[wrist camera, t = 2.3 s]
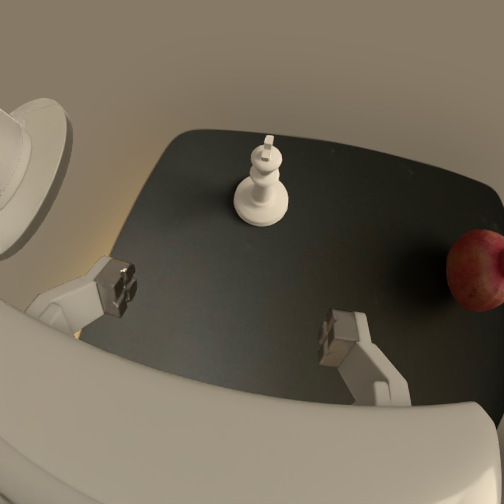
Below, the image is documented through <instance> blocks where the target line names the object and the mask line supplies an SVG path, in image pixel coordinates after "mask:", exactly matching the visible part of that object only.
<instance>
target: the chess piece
mask: <svg viewBox="0 0 504 504" xmlns="http://www.w3.org/2000/svg"><path fill="white" fill-rule="evenodd" d="M273 139H274V136H270V135H267V137H266V138H265V142H264V145H261V146H259V147H257V148H256V149H254V151H253V152H252V155H251V161H252V164H253V166H252V168H251V170H250V176H249V177H247V178H246V179H244V180H243V181H242V182H241V183H240V184H239V185H238V187H237V189H236V192H235V195H234V206H235V209H236V212H237V213H238V215H239V216H240V217H241V218H242V219H243V220H244V221H245V222H247V223H249V224H251V225H255V226H268V225H272V224H274V223H276V222H277V221H279V220H280V219H281V218H282V217H283V216H284V214H285V212H286V210H287V207H288V195H287V191H286V189H285V187H284V186H283V184H282V183H281V182H280V181H279V180H278V178H279V171H278V167H279V166H280V164H281V162H282V156H281V153H280V152H279V150H278V149H276V148H275V147H273V146H272V143H273Z"/></svg>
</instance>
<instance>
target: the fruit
mask: <svg viewBox="0 0 504 504" xmlns="http://www.w3.org/2000/svg"><path fill="white" fill-rule="evenodd" d="M446 274H447V283H448V286H449V288H450V291H451V294H452V296H453V297H454V298H455V300H456V301H457V302H458V304H459V305H461V306H462V307H463V308H464V309H466V310H471V311H476V312H484V311H487V310H490V309H492V308H494V307H496V306H498V305H500V304H502V303H503V302H504V236H502V235H500V234H498V233H496V232H493V231H489V230H480V229H475V230H471V231H468V232H466V233H465V234H463V235H462V236H461V237H460V238H459V239H458V240H457V241H455V243H454V244H453V245H452V247H451V249H450V251H449V253H448V256H447V264H446Z"/></svg>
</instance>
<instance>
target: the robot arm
mask: <svg viewBox="0 0 504 504" xmlns="http://www.w3.org/2000/svg"><path fill="white" fill-rule="evenodd" d="M31 149H32V142H31V137H30V135H29V134H28V132H27V131H26V120H25V119H23V118H19V119H17V120H14V119H13V118H12V117H11V116H9V115H8V114H7V113H5V112H4V111H3V110H1V109H0V210H1V209H3V208H4V206H5V205H6V204H7V203H8V202H9V201H10V199H11V198H12V196H13V195H14V193H15V192H16V190H17V188H18V187H19V185H20V183H21V181H22V179H23V176H24V174H25V172H26V169H27V166H28V163H29V160H30V156H31ZM134 273H135V266H134V265H133V264H132V263H129V262H125V261H122V260H118V259H115V258H111V257H108V256H102V257H100V258H99V260H98V261H97V262H96V263H95V264H94V265H93V266H92V267H91V269H90V270H89V271H88V272H87V273H86V274H85V276H84V277H78V278H76V279H73V280H71V281H69V282H66V283H64V284H61V285H59V286H57V287H54V288H52V289H50V290H48V291H45V292H43V293H41V294H38V296H37V297H36V298H35V299H34V300H33V301H32V303H31V304H30V305H29V306H28V307H27V309H26V310H25V311H24V312H23V311H21V310H19V309H17V308H16V307H14V306H12V305H11V304H9V303H7V302H6V301H4V300H2V299H1V298H0V504H501V463H500V451H499V443H498V437H497V432H496V428H495V425H494V423H493V421H492V420H491V418H490V417H489V416H488V414H487V413H486V412H485V411H484V410H483V408H482V407H481V406H480V405H478V404H477V403H476V402H463V403H453V404H442V405H428V406H411V401H410V396H409V390H408V385H407V381H406V380H405V379H404V378H403V377H402V376H401V374H400V373H399V372H398V371H397V370H396V368H395V367H394V366H393V365H392V364H391V362H390V361H389V360H388V359H387V358H386V357H385V355H384V354H383V353H382V352H381V351H380V350H379V348H378V347H377V346H376V345H375V344H372V343H371V338H370V333H369V328H368V323H367V319H366V315H365V314H364V313H360V312H352V311H347V310H341V309H335V308H330V309H329V310H328V312H327V314H326V318H327V319H326V320H325V321H323V322H322V324H321V326H320V329H319V333H318V344H319V345H320V347H321V348H320V349H319V351H318V365H322V366H328V367H334V368H337V369H338V371H339V373H340V374H341V376H342V378H343V379H344V381H345V383H346V385H347V386H348V388H349V390H350V391H351V393H352V395H353V397H354V398H355V400H356V402H355V403H354V404H353V405H339V404H326V403H316V402H307V401H299V400H291V399H284V398H277V397H271V396H265V395H259V394H254V393H248V392H243V391H238V390H234V389H229V388H224V387H220V386H216V385H211V384H207V383H203V382H199V381H196V380H192V379H188V378H185V377H181V376H177V375H174V374H171V373H167V372H164V371H161V370H158V369H155V368H151V367H148V366H145V365H142V364H139V363H137V362H134V361H131V360H128V359H125V358H123V357H120V356H117V355H115V354H112V353H110V352H107V351H104V350H102V349H100V348H97V347H95V346H92V345H90V344H88V343H85V342H83V341H81V340H78V339H76V338H75V337H74V335H73V334H74V333H75V332H77V331H79V330H80V329H82V328H83V327H85V326H86V325H88V324H89V323H91V322H92V321H94V320H96V319H97V318H99V317H100V316H102V315H103V314H104V313H105V314H108V315H112V316H115V317H118V318H121V317H122V315H123V314H124V312H125V311H126V309H127V302H130V301H132V299H133V298H134V296H135V293H136V290H137V280H136V278H135V277H134V276H133V274H134Z"/></svg>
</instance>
